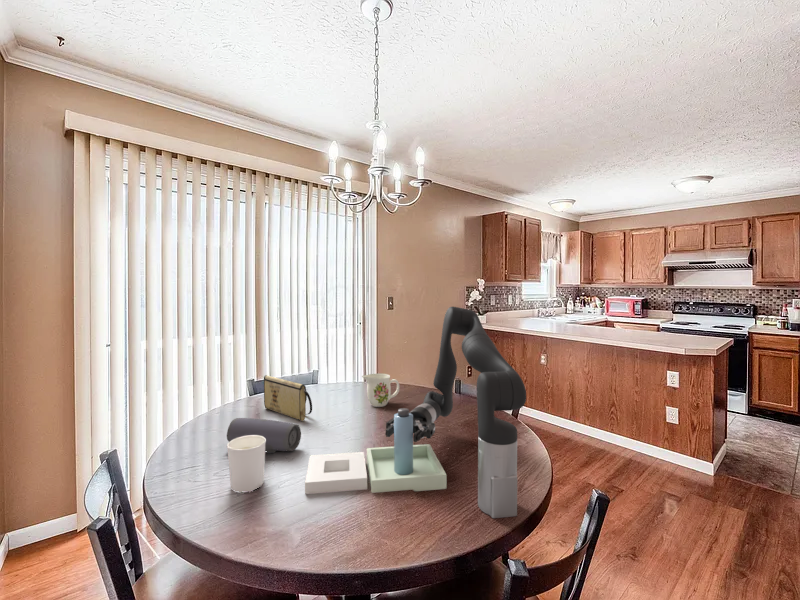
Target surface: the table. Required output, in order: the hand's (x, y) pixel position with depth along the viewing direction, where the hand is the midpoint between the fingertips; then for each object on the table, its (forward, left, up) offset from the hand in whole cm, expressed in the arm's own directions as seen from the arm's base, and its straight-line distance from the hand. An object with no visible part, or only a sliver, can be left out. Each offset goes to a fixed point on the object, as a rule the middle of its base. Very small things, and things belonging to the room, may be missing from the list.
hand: (400, 436), depth 109 cm
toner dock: (+2, +18, -12) cm, 21 cm away
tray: (+2, -1, -12) cm, 12 cm away
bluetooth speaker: (+25, +42, -12) cm, 50 cm away
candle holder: (+2, +42, -12) cm, 44 cm away
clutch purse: (+61, +39, -12) cm, 74 cm away
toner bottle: (+2, -1, -11) cm, 11 cm away
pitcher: (+67, -1, -12) cm, 68 cm away
